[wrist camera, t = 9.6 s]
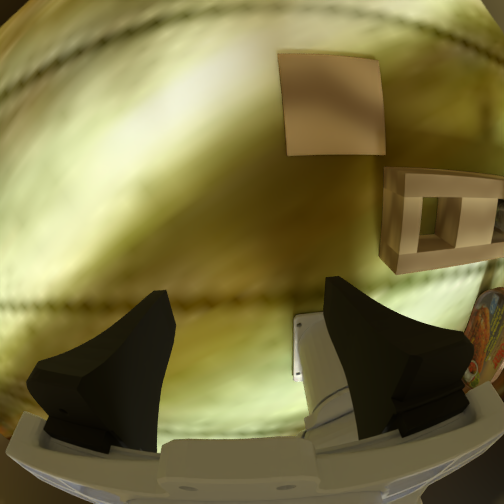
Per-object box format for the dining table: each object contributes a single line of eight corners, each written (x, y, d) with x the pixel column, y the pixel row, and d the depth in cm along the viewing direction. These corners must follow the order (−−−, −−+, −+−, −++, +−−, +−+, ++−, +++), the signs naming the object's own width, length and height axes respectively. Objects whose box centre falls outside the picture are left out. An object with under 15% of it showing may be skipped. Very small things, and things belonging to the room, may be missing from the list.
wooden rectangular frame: (498, 242, 23) (516, 254, 19) (378, 256, 23) (395, 275, 20) (507, 176, 19) (528, 184, 16) (383, 166, 20) (405, 173, 17)
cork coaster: (383, 154, 19) (385, 155, 19) (286, 155, 20) (287, 156, 19) (376, 61, 16) (378, 60, 16) (277, 55, 16) (278, 53, 16)
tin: (482, 277, 25) (523, 314, 17) (495, 273, 24) (535, 307, 17) (449, 364, 31) (474, 403, 23) (463, 359, 30) (488, 395, 23)
